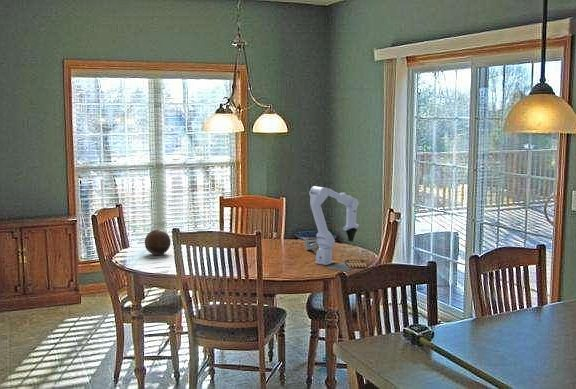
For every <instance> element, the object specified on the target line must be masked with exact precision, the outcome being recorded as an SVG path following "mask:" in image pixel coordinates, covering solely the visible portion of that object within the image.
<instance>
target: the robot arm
mask: <svg viewBox="0 0 576 389" xmlns="http://www.w3.org/2000/svg"><path fill="white" fill-rule="evenodd" d="M308 194H309V196H310V199H309V201H310V202H309V205H310V209H311V212H312V216H313V219H314V222H315V225H316V229H317V233H316V235H315V236H316V239H317V243H318V245H319V249H318V250H317V252H316V253H315V261H314V264H317V265H325V266H327V265H331V264H333V263H336V261H335V260H333V248H334V246H335V244H336V240H335V238H334V236H333V234H332V233H331V231H329V228H328V226H327V225H328V224H327V222H326V219H325V215H324V213H323V209H322V204H323V203H324V201H325V200H327V198H328V197H331V198H334V199H336V201H337V202H338V203H340V204H342V205H344V206H345V207H346V217H345V218H346V221H345V222H346V223H345V225H344V226H343V228H342V229H343V231H345V233H346V235H347V239H348V241H349V242H354V239H355V235H356V232H358V229H357V228H359V225H360V224H359V223H357V210H358V207H359V205H360V202H359V200H358V199H357V198H356V197H352V195H349V194H347V193H346V192H340V193H339V192H336V191H335V190H333V189H331V188H329V187H326V186H325V187H323V186H317V185H313V186H312V187H311V188H310V191H309V192H308Z"/></svg>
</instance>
